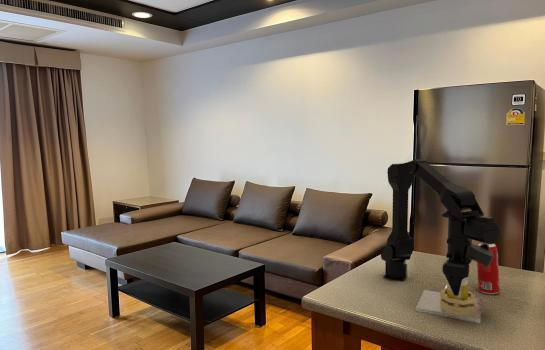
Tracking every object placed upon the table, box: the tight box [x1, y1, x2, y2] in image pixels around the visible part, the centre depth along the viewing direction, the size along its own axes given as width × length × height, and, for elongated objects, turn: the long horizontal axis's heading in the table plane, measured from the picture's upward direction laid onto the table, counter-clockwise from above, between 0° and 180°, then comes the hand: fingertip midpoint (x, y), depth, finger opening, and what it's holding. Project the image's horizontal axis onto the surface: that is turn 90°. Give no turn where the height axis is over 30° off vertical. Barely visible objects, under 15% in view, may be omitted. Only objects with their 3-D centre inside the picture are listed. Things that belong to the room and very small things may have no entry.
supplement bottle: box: [446, 278, 469, 306], centre depth 110 cm, size 5×5×10 cm
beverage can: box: [476, 242, 500, 295], centre depth 121 cm, size 6×6×15 cm
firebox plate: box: [415, 288, 483, 324], centre depth 111 cm, size 16×14×4 cm
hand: (457, 289), depth 110 cm, fingers open, 9 cm apart
